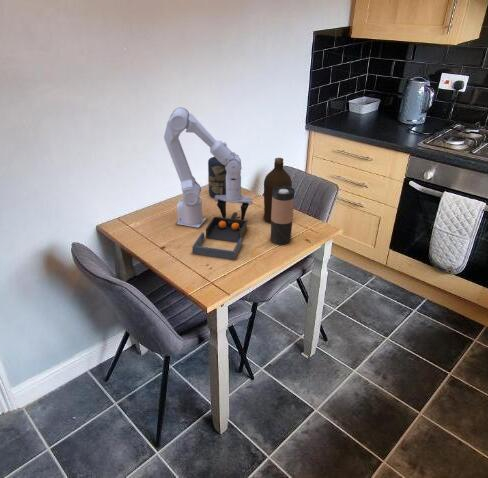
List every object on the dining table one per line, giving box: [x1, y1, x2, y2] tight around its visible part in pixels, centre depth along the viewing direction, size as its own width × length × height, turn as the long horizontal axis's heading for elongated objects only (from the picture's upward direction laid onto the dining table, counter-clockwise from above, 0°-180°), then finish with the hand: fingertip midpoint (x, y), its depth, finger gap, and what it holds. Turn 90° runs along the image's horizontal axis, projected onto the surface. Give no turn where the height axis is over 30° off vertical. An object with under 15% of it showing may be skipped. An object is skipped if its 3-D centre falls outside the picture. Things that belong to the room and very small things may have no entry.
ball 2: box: [232, 223, 239, 230], centre depth 164 cm, size 3×3×3 cm
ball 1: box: [219, 221, 226, 229], centre depth 165 cm, size 3×3×3 cm
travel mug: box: [270, 186, 296, 246], centre depth 153 cm, size 8×8×20 cm
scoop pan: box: [205, 211, 248, 243], centre depth 165 cm, size 19×13×4 cm
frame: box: [192, 232, 243, 261], centre depth 152 cm, size 10×15×3 cm
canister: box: [207, 156, 227, 198], centre depth 189 cm, size 10×10×18 cm
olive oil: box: [263, 157, 293, 224], centre depth 166 cm, size 11×11×25 cm
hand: (233, 219), depth 170 cm, fingers open, 7 cm apart
